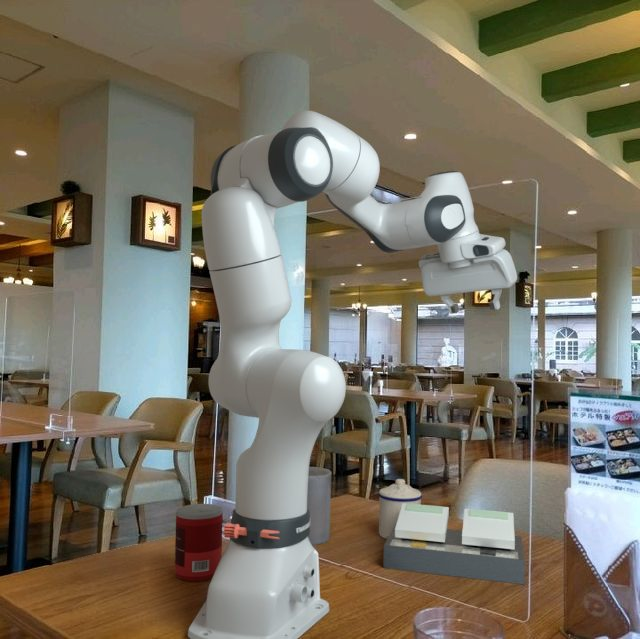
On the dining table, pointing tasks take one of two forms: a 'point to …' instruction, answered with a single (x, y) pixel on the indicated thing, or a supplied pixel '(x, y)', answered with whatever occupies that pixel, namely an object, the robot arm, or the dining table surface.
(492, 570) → the switch unit
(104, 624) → the dining table surface
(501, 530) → the rocker
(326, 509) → the pillar candle
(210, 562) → the canned food
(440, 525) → the rocker
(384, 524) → the teacup with lid
